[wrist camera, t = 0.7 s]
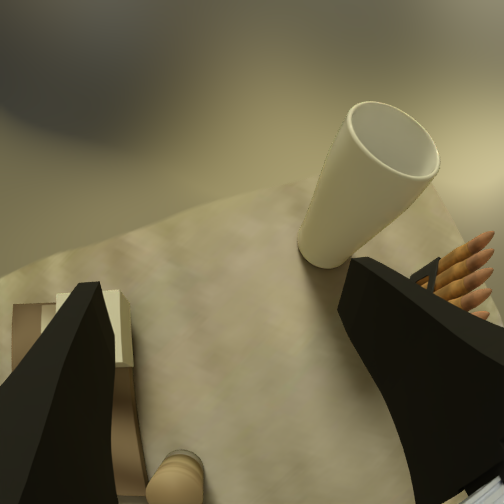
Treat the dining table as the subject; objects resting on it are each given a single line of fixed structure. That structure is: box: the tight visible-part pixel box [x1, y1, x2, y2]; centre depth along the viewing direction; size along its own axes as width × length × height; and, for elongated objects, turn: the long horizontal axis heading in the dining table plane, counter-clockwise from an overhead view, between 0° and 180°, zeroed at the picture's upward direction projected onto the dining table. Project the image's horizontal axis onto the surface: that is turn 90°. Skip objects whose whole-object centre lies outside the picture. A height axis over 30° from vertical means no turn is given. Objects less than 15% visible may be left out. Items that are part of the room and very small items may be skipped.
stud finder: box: [56, 290, 134, 367], centre depth 21 cm, size 5×5×4 cm
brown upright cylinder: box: [146, 450, 204, 504], centre depth 17 cm, size 3×3×8 cm
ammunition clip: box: [410, 231, 494, 320], centre depth 23 cm, size 11×2×12 cm, turn 154°
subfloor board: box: [12, 303, 149, 496], centre depth 21 cm, size 16×11×2 cm
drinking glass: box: [297, 101, 440, 269], centre depth 24 cm, size 7×7×15 cm
